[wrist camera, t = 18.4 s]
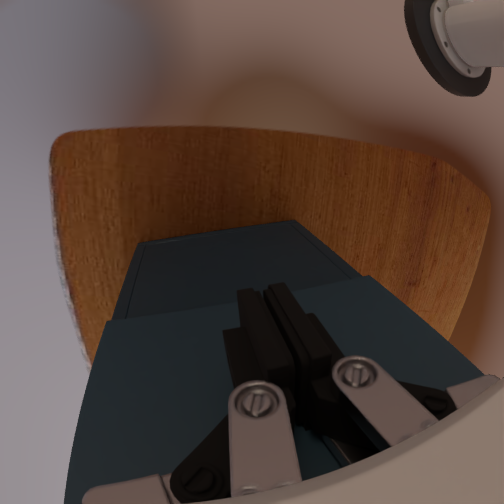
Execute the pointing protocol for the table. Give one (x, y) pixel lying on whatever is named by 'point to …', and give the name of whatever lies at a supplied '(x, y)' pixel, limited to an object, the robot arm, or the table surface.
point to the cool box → (225, 268)
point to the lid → (229, 380)
